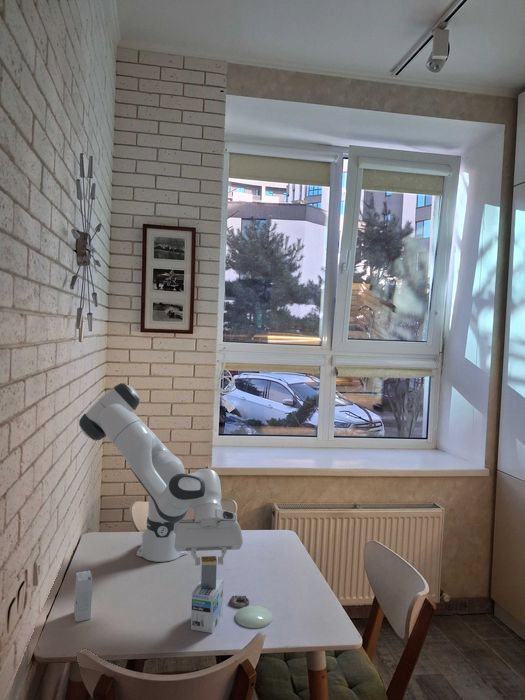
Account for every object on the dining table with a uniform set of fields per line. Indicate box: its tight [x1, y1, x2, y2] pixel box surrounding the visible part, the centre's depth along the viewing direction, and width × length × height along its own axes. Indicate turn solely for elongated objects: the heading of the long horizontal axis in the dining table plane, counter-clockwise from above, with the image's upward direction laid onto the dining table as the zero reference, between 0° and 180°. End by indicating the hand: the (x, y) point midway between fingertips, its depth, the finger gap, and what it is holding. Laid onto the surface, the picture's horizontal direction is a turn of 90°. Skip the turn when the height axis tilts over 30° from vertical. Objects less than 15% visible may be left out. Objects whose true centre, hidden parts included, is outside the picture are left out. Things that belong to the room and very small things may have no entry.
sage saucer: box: [235, 605, 273, 629], centre depth 158 cm, size 11×11×1 cm
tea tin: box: [200, 555, 218, 589], centre depth 155 cm, size 4×4×8 cm
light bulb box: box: [190, 578, 224, 634], centre depth 155 cm, size 11×7×11 cm, turn 168°
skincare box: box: [73, 570, 94, 622], centre depth 156 cm, size 6×4×12 cm
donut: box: [229, 595, 250, 609], centre depth 167 cm, size 8×8×2 cm
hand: (209, 564), depth 154 cm, fingers open, 5 cm apart
